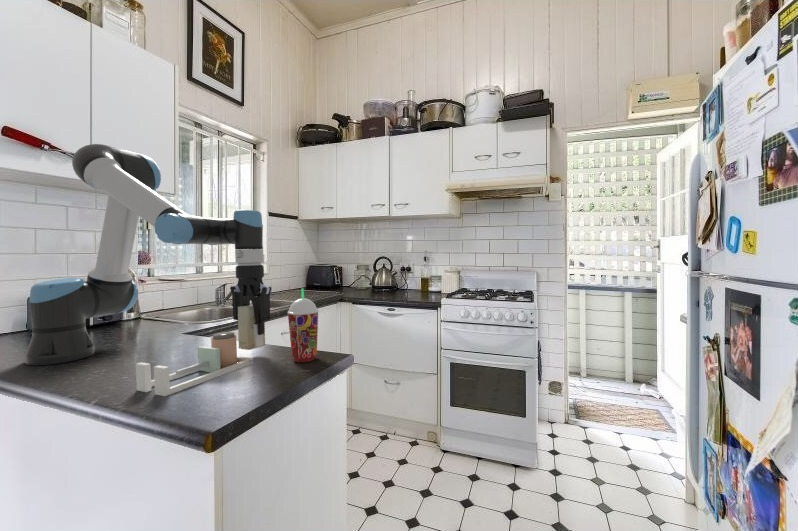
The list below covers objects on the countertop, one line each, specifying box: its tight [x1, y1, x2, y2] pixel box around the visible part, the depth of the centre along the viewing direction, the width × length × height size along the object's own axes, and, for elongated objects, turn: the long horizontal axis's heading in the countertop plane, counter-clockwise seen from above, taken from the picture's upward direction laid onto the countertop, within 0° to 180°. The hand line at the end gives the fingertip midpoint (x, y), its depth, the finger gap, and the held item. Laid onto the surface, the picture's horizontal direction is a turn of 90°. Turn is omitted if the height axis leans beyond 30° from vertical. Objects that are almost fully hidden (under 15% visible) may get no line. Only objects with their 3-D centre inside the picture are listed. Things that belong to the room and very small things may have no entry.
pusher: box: [175, 345, 220, 375], centre depth 89 cm, size 7×9×6 cm
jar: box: [210, 331, 238, 369], centre depth 97 cm, size 6×6×9 cm
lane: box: [135, 355, 253, 397], centre depth 91 cm, size 10×24×6 cm, turn 156°
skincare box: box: [237, 304, 266, 351], centre depth 106 cm, size 6×4×12 cm
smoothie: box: [287, 288, 319, 363], centre depth 102 cm, size 8×8×20 cm
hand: (252, 344), depth 106 cm, fingers closed on skincare box, 4 cm apart
